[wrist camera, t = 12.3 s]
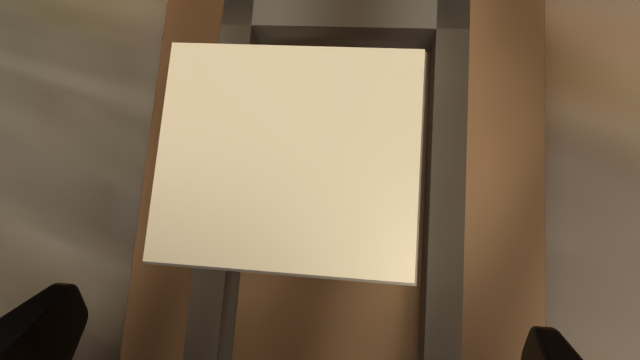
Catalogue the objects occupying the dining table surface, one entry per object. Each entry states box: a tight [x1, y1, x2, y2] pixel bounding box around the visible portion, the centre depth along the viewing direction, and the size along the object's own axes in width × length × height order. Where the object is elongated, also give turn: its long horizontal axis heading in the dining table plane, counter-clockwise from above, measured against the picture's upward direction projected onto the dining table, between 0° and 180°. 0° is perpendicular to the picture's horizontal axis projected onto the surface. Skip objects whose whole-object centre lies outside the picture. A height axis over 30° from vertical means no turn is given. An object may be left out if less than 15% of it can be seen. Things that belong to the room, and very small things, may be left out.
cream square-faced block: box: [143, 42, 427, 286], centre depth 14 cm, size 5×4×11 cm
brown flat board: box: [119, 0, 545, 360], centre depth 18 cm, size 16×22×2 cm
